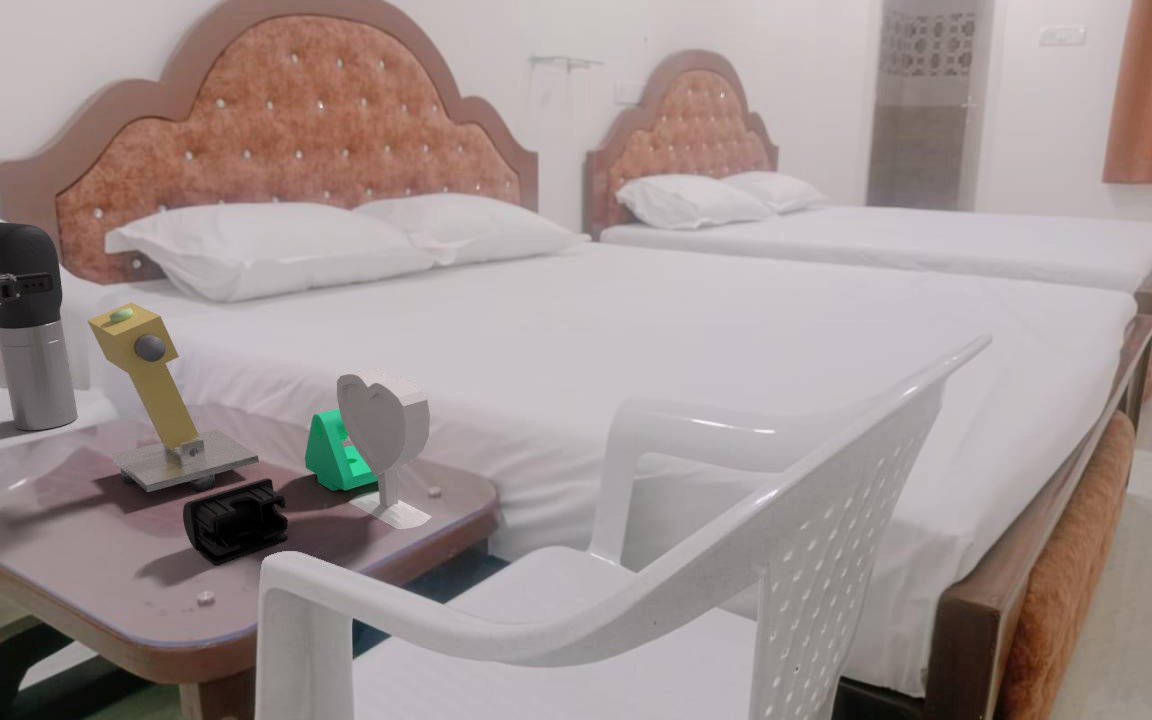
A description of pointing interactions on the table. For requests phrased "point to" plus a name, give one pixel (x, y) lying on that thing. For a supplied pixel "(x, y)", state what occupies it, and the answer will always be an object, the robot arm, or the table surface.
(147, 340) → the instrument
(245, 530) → the end cap
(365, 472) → the camera mount
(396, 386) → the heart sculpture
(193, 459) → the grey metal base plate
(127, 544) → the table surface
